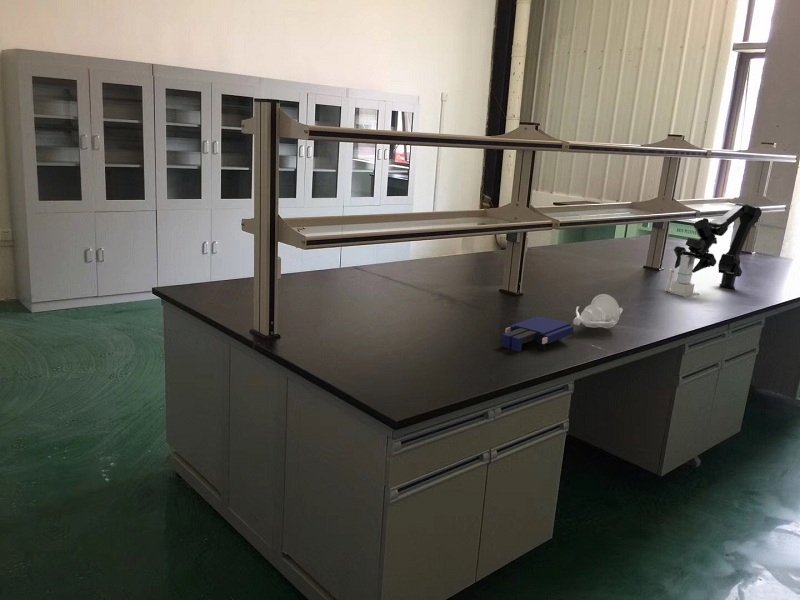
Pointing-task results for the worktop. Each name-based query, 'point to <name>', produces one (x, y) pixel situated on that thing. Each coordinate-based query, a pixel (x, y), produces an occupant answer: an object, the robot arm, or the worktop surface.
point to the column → (685, 269)
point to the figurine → (599, 313)
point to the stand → (679, 287)
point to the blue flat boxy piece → (535, 333)
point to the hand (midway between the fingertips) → (683, 269)
